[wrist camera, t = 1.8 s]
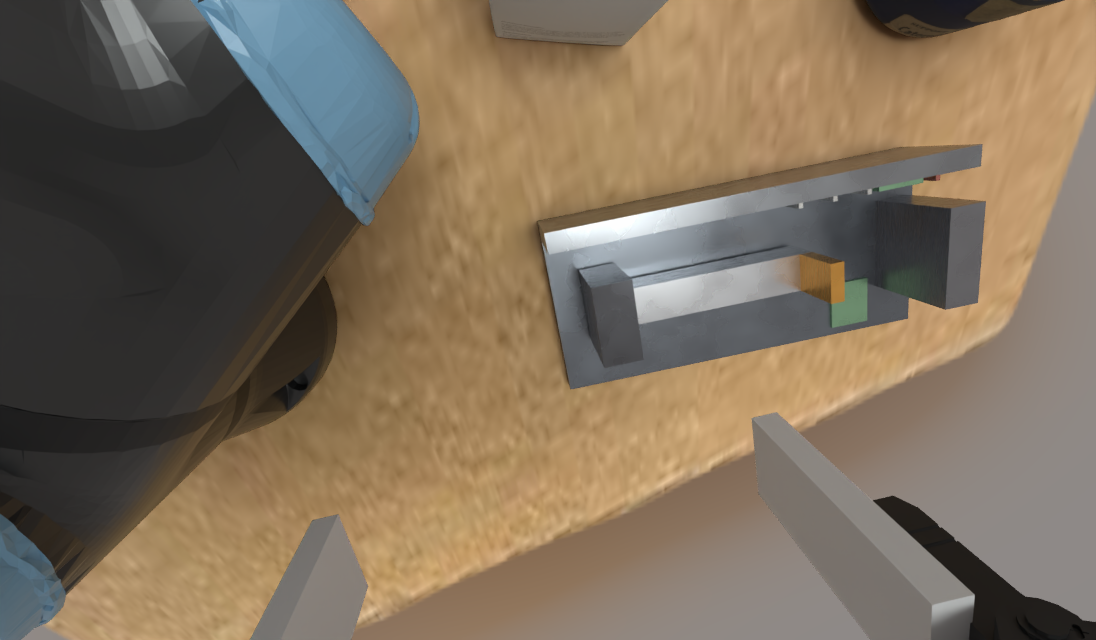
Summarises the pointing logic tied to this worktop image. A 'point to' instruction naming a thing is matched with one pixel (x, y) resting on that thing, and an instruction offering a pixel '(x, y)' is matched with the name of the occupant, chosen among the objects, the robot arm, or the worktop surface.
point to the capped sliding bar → (696, 293)
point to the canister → (946, 14)
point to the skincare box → (572, 19)
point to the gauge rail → (770, 223)
